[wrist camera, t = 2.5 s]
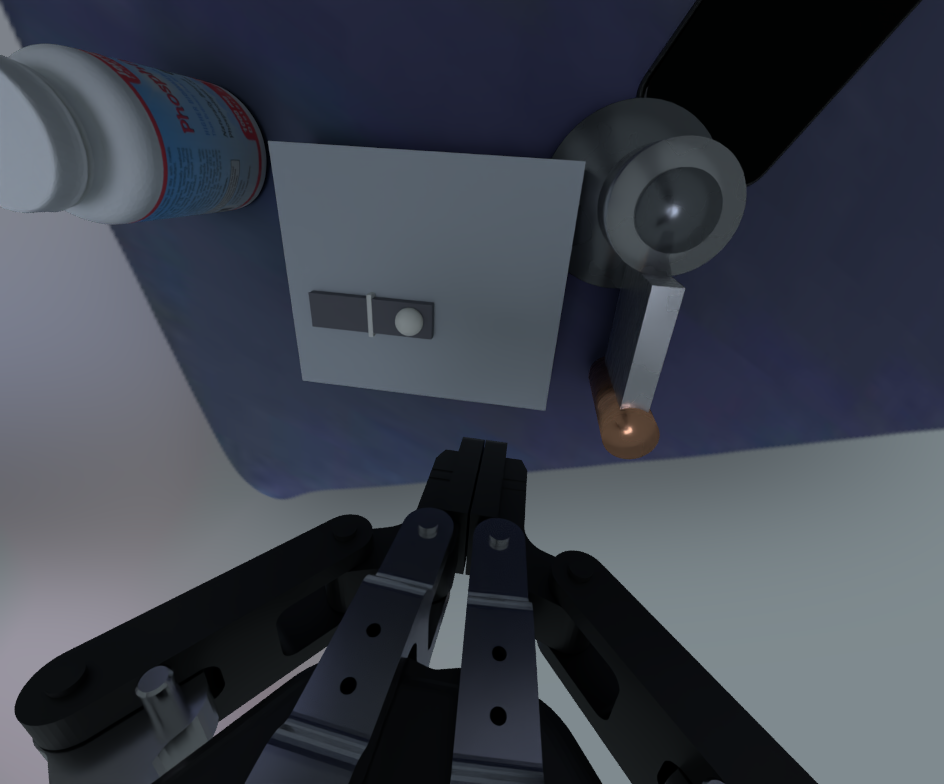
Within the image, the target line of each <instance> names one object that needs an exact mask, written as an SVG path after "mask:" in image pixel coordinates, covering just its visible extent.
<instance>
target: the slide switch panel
mask: <svg viewBox="0 0 944 784" xmlns="http://www.w3.org/2000/svg"><path fill="white" fill-rule="evenodd" d="M268 145H269V152H270V159H271V166H272V172H273V179H274V186H275V193H276V200H277V207H278V214H279V221H280V227H281V234H282V241H283V248H284V255H285V262H286V269H287V276H288V282H289V289H290V296H291V303H292V310H293V317H294V324H295V331H296V337H297V344H298V351H299V358H300V365H301V372H302V379H303V381H311V382H319V383H327V384H335V385H343V386H352V387H360V388H368V389H376V390H384V391H392V392H400V393H408V394H416V395H424V396H432V397H440V398H448V399H456V400H464V401H472V402H480V403H488V404H496V405H504V406H512V407H520V408H528V409H536V410H544V411H545V409H546V402H547V396H548V390H549V384H550V378H551V372H552V366H553V360H554V354H555V347H556V341H557V335H558V329H559V323H560V317H561V311H562V305H563V298H564V292H565V286H566V280H567V274H568V268H569V262H570V256H571V250H572V243H573V237H574V231H575V225H576V219H577V213H578V207H579V201H580V194H581V188H582V182H583V176H584V170H585V164H586V161H572V160H556V159H541V158H525V157H510V156H494V155H479V154H464V153H448V152H433V151H417V150H402V149H386V148H371V147H355V146H340V145H324V144H309V143H293V142H278V141H268Z"/></svg>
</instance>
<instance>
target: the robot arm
mask: <svg viewBox="0 0 944 784" xmlns="http://www.w3.org/2000/svg"><path fill="white" fill-rule="evenodd" d="M484 444H485V448H484ZM506 451H507V443H504V442H497V441H489V440H486V443H485V440H481V439H474V438H467V437H463V439H462V442H461V446H460V449H459V451H452V450H445V451H444V452H442V453H441V454H440V455H439V456H438V457H437V458H436V460H435V463H434V465H433V468H432V471H431V473H430V476H429V479H428V481H427V484H426V486H425V489H424V492H423V495H422V497H421V500H420V502H419V505H418V508H417V510H415V511H413V512H412V513H410V514H409V515H408V516H407V517H406V518H405V520H404V522H403V523H402V524H400V525H397V526H393V527H386V528H378V529H377V528H376V529H372V525H371V524H370V522H369V521H368V520H367V519H366V518H364V517H362V516H359V515H352V514H349V515H342V516H338V517H336V518H333V519H331V520H329V521H327V522H325V523H324V524H321V525H319V526H317V527H315V528H313V529H311V530H309V531H307V532H305V533H303V534H301V535H299V536H297V537H295V538H293V539H291V540H289V541H287V542H285V543H283V544H281V545H279V546H277V547H275V548H273V549H271V550H269V551H267V552H265V553H263V554H261V555H259V556H257V557H255V558H253V559H251V560H249V561H248V562H245V563H243V564H241V565H239V566H237V567H235V568H233V569H231V570H229V571H227V572H225V573H223V574H221V575H219V576H217V577H215V578H213V579H211V580H209V581H207V582H205V583H203V584H201V585H199V586H197V587H195V588H193V589H191V590H189V591H187V592H185V593H183V594H181V595H179V596H177V597H175V598H173V599H171V600H169V601H167V602H165V603H163V604H161V605H159V606H157V607H155V608H153V609H151V610H149V611H147V612H145V613H143V614H141V615H139V616H137V617H135V618H133V619H131V620H129V621H127V622H125V623H123V624H121V625H119V626H117V627H115V628H113V629H111V630H109V631H107V632H105V633H104V634H101V635H99V636H97V637H95V638H93V639H91V640H89V641H87V642H85V643H83V644H81V645H79V646H77V647H75V648H73V649H71V650H69V651H67V652H65V653H63V654H61V655H60V656H58V657H56V658H55V659H53V660H52V661H50V662H49V663H47V664H46V665H45V666H44V667H42V668H41V669H40V670H39V671H38V672H36V673H35V674H34V675H33V677H31V679H30V680H29V681H28V682H27V683H26V685H25V686H24V687H23V689H22V690H21V692H20V694H19V696H18V698H17V700H16V704H15V715H16V718H17V719H18V721H19V722H20V723H21V724H22V725H23V727H24V728H25V729H26V730H27V732H28V733H29V734H30V735H31V737H32V738H33V743H34V746H35V747H36V748H37V749H38V751H39V752H40V753H41V754H42V755H43V757H44V758H45V759H46V760H47V762H48V773H49V784H602V783H601V781H600V779H599V778H598V776H597V774H596V773H595V771H594V769H593V768H592V766H591V764H590V763H589V761H588V759H587V758H586V756H585V755H584V753H583V751H582V750H581V748H580V746H579V745H578V743H577V741H576V740H575V738H574V736H573V735H572V733H571V732H570V730H569V729H568V727H567V726H566V725H565V724H564V723H563V721H562V720H561V718H560V717H559V716H558V715H557V714H556V713H555V712H554V711H553V710H552V709H551V708H550V707H549V706H547V705H546V704H545V703H544V702H543V701H542V700H540V699H539V698H538V682H537V667H536V650H535V639H536V640H537V643H538V646H539V649H540V651H541V652H542V654H543V655H544V657H545V658H546V660H547V661H548V663H549V664H550V666H551V667H552V669H553V670H554V671H555V673H556V674H557V676H558V677H559V679H560V680H561V681H562V683H563V684H564V686H565V687H566V689H567V690H568V692H569V693H570V694H571V696H572V697H573V699H574V700H575V702H576V703H577V705H578V706H579V708H580V709H581V711H582V712H583V713H584V715H585V716H586V718H587V719H588V721H589V722H590V724H591V725H592V726H593V728H594V729H595V731H596V732H597V734H598V735H599V737H600V738H601V740H602V741H603V742H604V744H605V745H606V747H607V748H608V750H609V751H610V753H611V754H612V756H613V757H614V758H615V760H616V761H617V762H618V764H619V766H620V767H621V768H622V770H623V771H624V773H625V774H626V776H627V777H628V779H629V780H630V781H631V783H632V784H818V783H817V782H816V781H815V780H814V779H813V778H812V777H811V776H810V775H809V774H808V773H807V772H806V771H805V770H804V769H803V768H802V767H801V766H800V765H799V764H798V763H797V762H796V761H795V760H794V759H793V758H792V757H791V756H790V755H789V754H788V753H787V752H786V751H785V750H784V749H783V748H782V747H781V746H780V745H779V744H778V743H777V742H776V741H775V740H774V738H772V736H771V735H770V734H769V733H768V732H767V731H766V730H765V729H764V728H762V726H761V725H760V724H758V722H757V721H756V720H755V719H754V718H753V717H752V716H751V715H750V714H749V713H748V712H747V711H746V710H745V709H744V708H743V707H742V706H741V705H740V704H739V703H738V702H737V701H736V700H735V699H734V698H733V697H732V696H731V695H730V694H729V693H728V692H727V691H726V690H725V689H724V688H723V687H722V686H721V685H720V684H719V683H718V682H717V681H716V680H715V679H714V678H713V677H712V676H711V675H710V674H709V672H707V671H706V669H704V667H703V666H702V665H701V664H700V663H699V662H698V661H697V660H696V659H695V658H694V657H693V656H692V655H691V654H690V653H689V652H688V651H687V650H686V649H685V648H684V647H683V646H682V645H681V644H680V643H679V642H678V641H677V640H676V639H675V638H674V637H673V636H672V635H671V634H670V633H669V632H668V631H667V630H666V629H665V628H664V627H663V626H662V625H661V624H660V623H659V622H658V621H657V620H656V619H655V618H654V617H653V616H652V615H651V614H650V613H649V612H648V611H647V610H646V609H645V607H643V605H641V603H639V601H637V599H636V598H635V597H634V596H633V595H632V594H631V593H630V592H629V591H628V590H627V589H626V588H625V587H624V586H623V585H622V584H621V583H620V582H619V581H618V580H617V579H616V578H615V577H614V576H613V575H612V574H611V573H610V572H609V571H608V570H607V569H606V568H605V567H604V566H603V565H602V564H601V563H600V562H599V561H598V560H597V559H595V558H594V557H592V556H590V555H589V554H586V553H584V552H580V551H565V552H562V553H560V554H558V555H557V556H556V557H554V556H552V555H550V554H548V553H546V552H544V551H541V550H540V549H538V548H537V547H536V546H534V545H533V544H532V543H531V542H530V541H529V539H528V538H527V536H526V534H525V530H524V520H525V503H526V502H525V501H526V482H527V469H526V468H525V466H524V464H523V462H522V460H518V459H510V458H506ZM466 557H467V563H466V575H470V579H469V589H468V599H467V609H466V620H465V631H464V642H463V653H462V664H461V668H452V669H440V670H435V669H431V668H429V663H430V659H431V655H432V652H433V649H434V646H435V642H436V639H437V636H438V633H439V629H440V626H441V623H442V620H443V617H444V613H445V610H446V607H447V604H448V601H449V597H450V590H451V588H452V584H453V580H454V576H455V573H459V574H463V572H464V567H465V562H466ZM325 647H327V648H326V650H325V652H324V654H323V655H322V657H321V659H320V661H319V663H317V664H315V665H313V666H311V667H309V668H307V669H305V670H304V671H302V672H301V673H299V674H297V675H296V676H294V677H293V678H292V679H290V680H289V681H287V682H286V683H285V684H283V685H282V686H281V687H280V688H278V689H277V690H275V691H274V692H273V693H271V694H270V695H269V696H267V697H266V698H265V699H263V700H262V701H261V702H259V703H258V704H257V705H255V706H254V707H253V708H252V709H250V710H249V711H247V712H246V713H245V714H243V715H242V716H241V717H240V718H238V719H237V720H235V721H234V722H233V723H232V724H230V725H229V726H227V727H226V728H225V729H224V730H222V731H221V732H219V733H218V734H217V735H215V736H214V737H213V735H214V733H215V731H216V728H217V725H218V722H219V721H221V720H222V719H223V718H225V717H226V716H228V715H229V714H231V713H232V712H233V711H235V710H236V709H238V708H239V707H241V706H242V705H244V704H245V703H246V702H248V701H249V700H251V699H252V698H254V697H255V696H257V695H258V694H259V693H260V692H262V691H264V690H265V689H266V688H268V687H269V686H271V685H272V684H274V683H275V682H276V681H278V680H279V679H281V678H282V677H284V676H285V675H286V674H288V673H290V672H291V671H292V670H294V669H295V668H297V667H298V666H299V665H301V664H302V663H304V662H305V661H307V660H308V659H310V658H311V657H312V656H314V655H315V654H317V653H318V652H319V651H321V650H322V649H324V648H325ZM212 737H213V738H212Z"/></svg>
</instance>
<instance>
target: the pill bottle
mask: <svg viewBox="0 0 944 784" xmlns="http://www.w3.org/2000/svg"><path fill="white" fill-rule="evenodd" d="M265 174H266V150H265V145H264V141H263V137H262V134H261V131H260V129H259V127H258V125H257V123H256V121H255V119H254V118H253V116H252V115H251V113H250V112H249V111H248V109H247V108H246V107H245V106H244V105H243V104H242V102H241V101H239V100H238V99H237V98H236V97H235V96H234V95H233V94H231V93H230V92H228V91H227V90H225V89H223V88H222V87H220V86H217V85H215V84H212V83H209V82H206V81H203V80H199V79H195V78H191V77H187V76H183V75H179V74H175V73H171V72H167V71H163V70H159V69H156V68H151V67H147V66H144V65H140V64H136V63H132V62H128V61H124V60H120V59H116V58H112V57H108V56H103V55H99V54H96V53H92V52H88V51H83V50H80V49H76V48H71V47H66V46H61V45H55V44H37V45H31V46H27V47H24V48H22V49H20V50H18V51H16V52H14V53H13V54H12V55H11V56H9V57H5V56H2V55H0V207H1V208H4V209H8V210H11V211H15V212H23V213H34V212H59V211H63V210H65V211H67V212H69V213H70V214H72V215H75V216H77V217H79V218H82V219H85V220H88V221H92V222H97V223H102V224H127V223H135V222H143V221H151V220H159V219H167V218H176V217H184V216H191V215H199V214H207V213H215V212H223V211H230V210H236V209H240V208H242V207H245V206H247V205H248V204H250V203H251V202H252V201H253V200H254V199H255V198H256V197H257V196H258V194H259V193H260V191H261V189H262V186H263V183H264V180H265Z"/></svg>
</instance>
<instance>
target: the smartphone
mask: <svg viewBox="0 0 944 784" xmlns="http://www.w3.org/2000/svg"><path fill="white" fill-rule="evenodd" d="M921 1H922V0H697V1H696V2H695V3H694V5H693V6H692V8H691V9H690V11H689V12H688V14H687V15H686V17H685V18H684V20H683V21H682V22H681V24H680V25H679V27H678V28H677V30H676V31H675V33H674V34H673V36H672V37H671V38H670V40H669V41H668V43H667V44H666V46H665V47H664V49H663V50H662V52H661V53H660V54H659V56H658V57H657V59H656V60H655V62H654V63H653V65H652V66H651V68H650V69H649V70H648V72H647V73H646V75H645V76H644V78H643V80H642V82H641V84H640V86H639V88H638V91H637V97H636V98H654V99H661V100H665V101H668V102H671V103H674V104H676V105H678V106H680V107H682V108H684V109H686V110H687V111H689V112H690V113H691V114H693V115H694V116H695V117H696V118H697V119H698V120H699V121H700V122H701V123H702V124H703V125H704V126H705V128H706V129H707V131H708V132H709V134H710V135H711V137H712V139H713V140H715V141H717V142H719V143H721V144H722V145H723V146H725V147H726V148H728V149H729V150H730V151H731V152H732V153H733V154H734V156H735V157H736V159H737V160H738V162H739V163H740V166H741V168H742V170H743V173H744V176H745V181H746V187H747V186H750V185H752V184H753V183H755V182H756V181H758V180H759V179H760V178H761V177H762V176H763V175H764V174H765V173H766V172H767V171H768V170H769V169H770V168H771V167H772V166H773V164H774V163H775V162H776V161H777V160H778V159H779V158H780V157H781V156H782V155H783V153H784V152H785V151H786V150H787V149H788V148H789V147H790V146H791V145H792V143H793V142H794V141H795V140H796V139H797V138H798V137H799V136H800V135H801V134H802V132H803V131H804V130H805V129H806V128H807V127H808V126H809V125H810V124H811V122H812V121H813V120H814V119H815V118H816V117H817V116H818V115H819V114H820V113H821V111H822V110H823V109H824V108H825V107H826V106H827V105H828V104H829V103H830V102H831V100H832V99H833V98H834V97H835V96H836V95H837V94H838V93H839V92H840V90H841V89H842V88H843V87H844V86H845V85H846V84H847V83H848V82H849V81H850V79H851V78H852V77H853V76H854V75H855V74H856V73H857V72H858V71H859V70H860V68H861V67H862V66H863V65H864V64H865V63H866V62H867V61H868V60H869V58H870V57H871V56H872V55H873V54H874V53H875V52H876V51H877V50H878V49H879V47H880V46H881V45H882V44H883V43H884V42H885V41H886V40H887V39H888V37H889V36H890V35H891V34H892V33H893V32H894V31H895V30H896V29H897V28H898V26H899V25H900V24H901V23H902V22H903V21H904V20H905V19H906V18H907V17H908V15H909V14H910V13H911V12H912V11H913V10H914V9H915V8H916V7H917V5H918V4H919V3H920V2H921Z"/></svg>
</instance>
